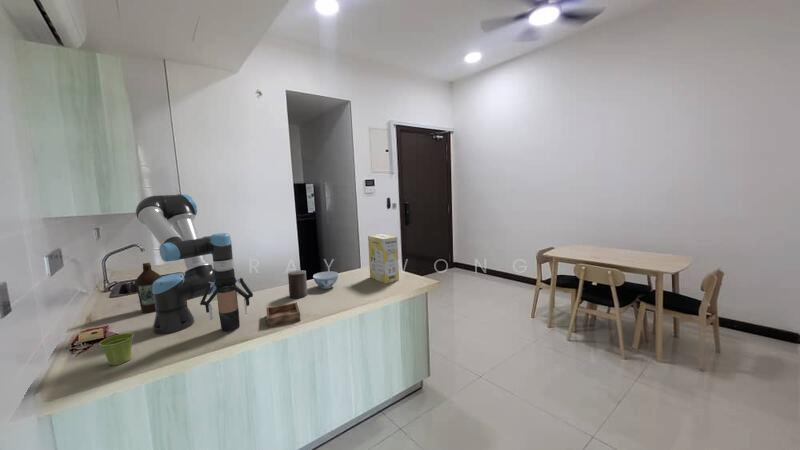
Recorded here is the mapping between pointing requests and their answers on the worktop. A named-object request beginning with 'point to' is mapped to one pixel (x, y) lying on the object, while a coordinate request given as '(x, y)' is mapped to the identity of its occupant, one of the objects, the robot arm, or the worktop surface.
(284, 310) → the walnut caddy
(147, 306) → the olive oil
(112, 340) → the plant pot
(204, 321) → the worktop surface
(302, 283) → the pillar candle
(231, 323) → the travel mug
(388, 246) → the pasta box
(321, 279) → the chinaware
